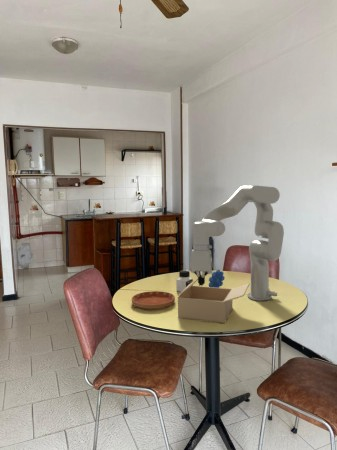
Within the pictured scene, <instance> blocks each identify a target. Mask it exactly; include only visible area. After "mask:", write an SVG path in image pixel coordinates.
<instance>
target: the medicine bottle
mask: <svg viewBox="0 0 337 450" xmlns="http://www.w3.org/2000/svg"><path fill="white" fill-rule="evenodd" d="M190 273H191V272H190V270H187V269H182V270H180V271H179V275H178V276H179V278H176V279H175V281H176V282H175V283H176V284H175V285H176V292H180V293H181V292H182V291H183V290H184V289H185V288H186V287H187V286H188V285H189V284H190V283H192V282H193V281H194V279H193V277H190ZM192 286H194V284H193V285H192Z"/></svg>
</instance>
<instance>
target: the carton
mask: <svg viewBox="0 0 337 450" xmlns="http://www.w3.org/2000/svg"><path fill="white" fill-rule="evenodd" d="M232 289H233V288H224V287H223V288H222V287H219V288H215V287H209V286H201V285H200V286H199V285H193V286H191V287H189V288H188V289H187V290H186V291H184V292H183V293H182V294H180V295H179V296H177V318H178V319H183V320H184V319H185V320H194V321H199V322H200V321H203V322H209V323H215V324H216V323H218V324H225V323H226V321H227V320H228V318H229V316H230V314H231V312H232V310H233V300H230V301H227V302H225V300H226V298H227V296H228V295H229V293H230V292H231V290H232Z"/></svg>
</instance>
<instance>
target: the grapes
mask: <svg viewBox="0 0 337 450" xmlns="http://www.w3.org/2000/svg"><path fill="white" fill-rule="evenodd" d="M223 281H225V273H224V271H221V270H220V269H217V270H216V271H212V274H211V276H209V278H208V282H209V283H208V287H215V288H220V287H222V286H224V282H223Z"/></svg>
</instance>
